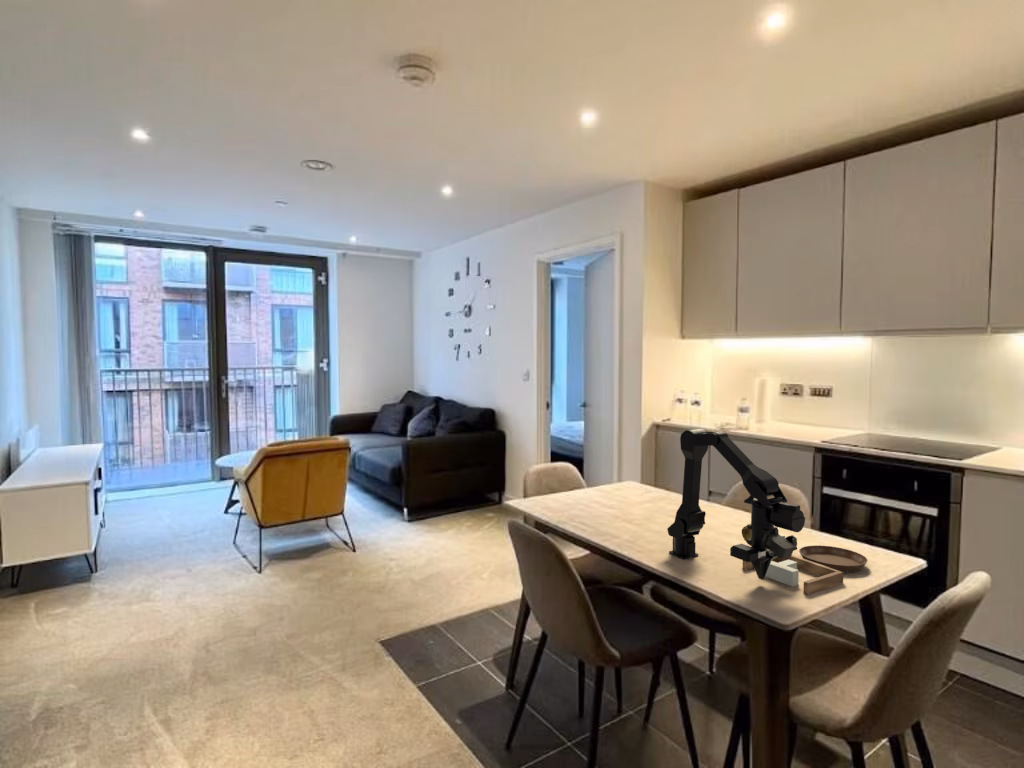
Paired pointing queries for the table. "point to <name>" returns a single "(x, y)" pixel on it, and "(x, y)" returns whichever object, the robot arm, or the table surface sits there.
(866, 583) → the table surface
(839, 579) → the corral
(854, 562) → the plant saucer
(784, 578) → the t block
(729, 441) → the robot arm
